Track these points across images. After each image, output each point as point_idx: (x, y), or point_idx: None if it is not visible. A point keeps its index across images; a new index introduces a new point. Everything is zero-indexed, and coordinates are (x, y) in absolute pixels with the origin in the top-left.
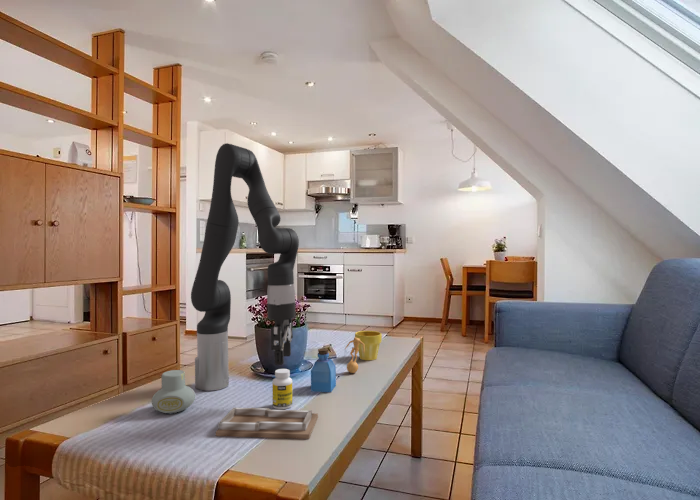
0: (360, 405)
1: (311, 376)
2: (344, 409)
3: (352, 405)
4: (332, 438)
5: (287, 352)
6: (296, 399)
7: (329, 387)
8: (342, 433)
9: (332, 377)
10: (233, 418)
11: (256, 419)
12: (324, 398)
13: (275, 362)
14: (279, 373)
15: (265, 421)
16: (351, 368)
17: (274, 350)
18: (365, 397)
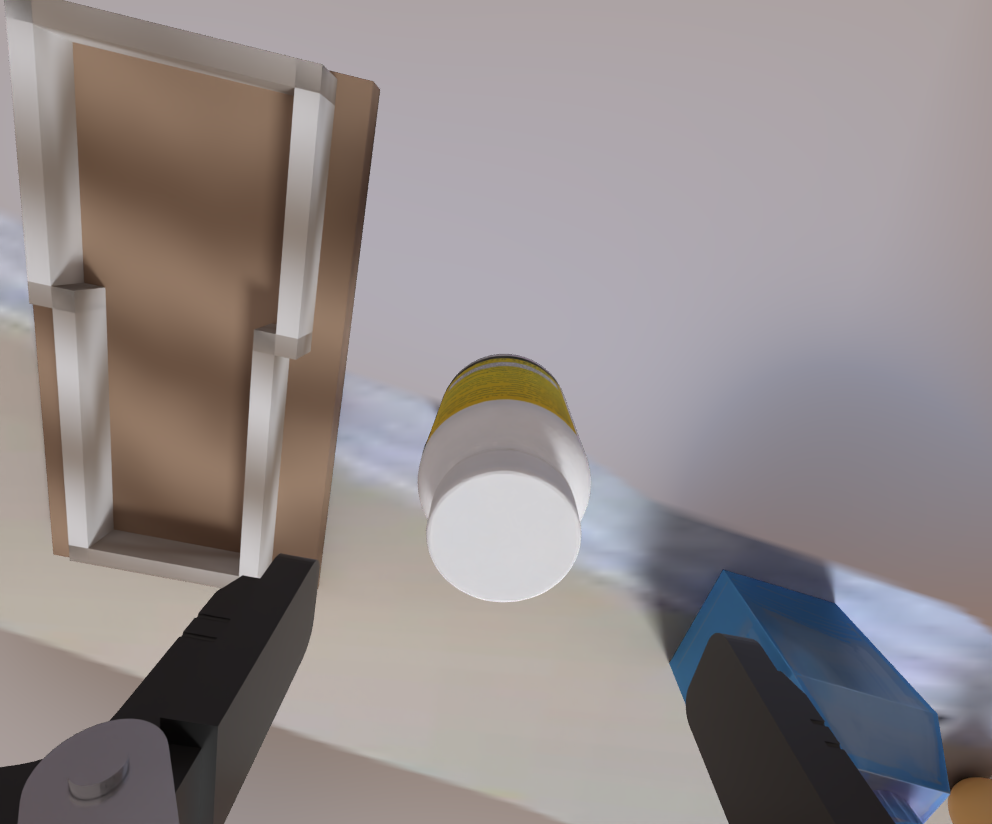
0: (454, 759)
1: (766, 642)
2: (412, 698)
3: (459, 731)
4: (89, 628)
5: (714, 725)
6: (603, 489)
7: (683, 680)
8: (143, 666)
9: None
10: (243, 96)
11: (228, 270)
12: (583, 628)
13: (268, 573)
14: (430, 512)
15: (198, 331)
16: (966, 816)
17: (101, 740)
18: (553, 788)
